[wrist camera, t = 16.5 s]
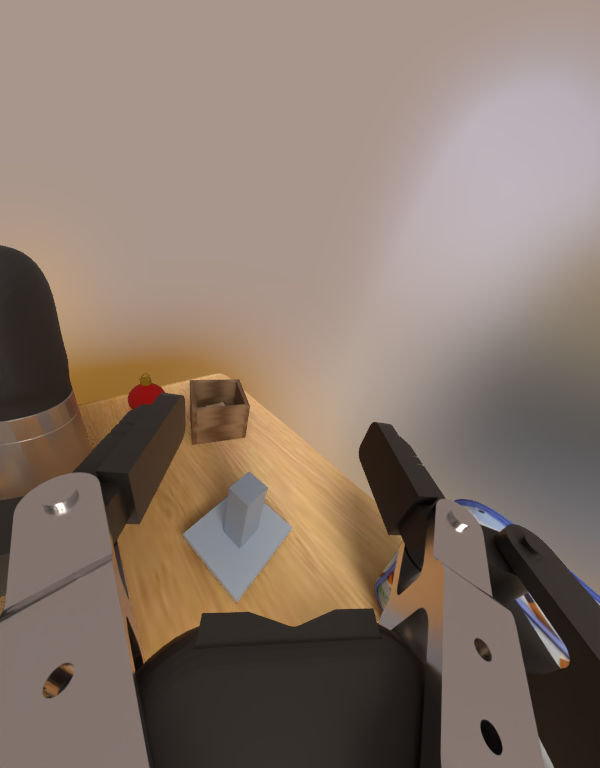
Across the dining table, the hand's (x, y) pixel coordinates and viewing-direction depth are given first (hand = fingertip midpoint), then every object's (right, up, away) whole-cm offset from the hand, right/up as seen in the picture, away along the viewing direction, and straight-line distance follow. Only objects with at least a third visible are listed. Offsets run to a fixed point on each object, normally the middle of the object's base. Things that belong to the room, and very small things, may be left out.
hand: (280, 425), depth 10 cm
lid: (-8, -22, +25) cm, 34 cm away
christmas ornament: (-34, -5, +43) cm, 55 cm away
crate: (-19, -8, +44) cm, 48 cm away
